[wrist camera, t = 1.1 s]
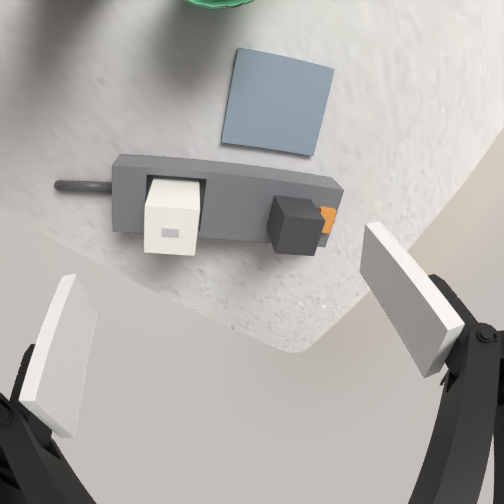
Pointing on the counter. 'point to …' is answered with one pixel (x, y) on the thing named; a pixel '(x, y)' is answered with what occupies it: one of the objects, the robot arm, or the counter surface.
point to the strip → (229, 200)
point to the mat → (276, 102)
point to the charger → (172, 215)
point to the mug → (218, 3)
